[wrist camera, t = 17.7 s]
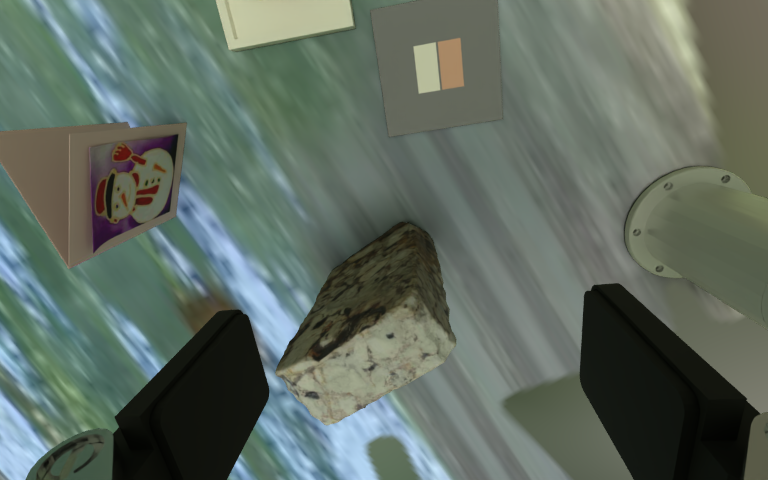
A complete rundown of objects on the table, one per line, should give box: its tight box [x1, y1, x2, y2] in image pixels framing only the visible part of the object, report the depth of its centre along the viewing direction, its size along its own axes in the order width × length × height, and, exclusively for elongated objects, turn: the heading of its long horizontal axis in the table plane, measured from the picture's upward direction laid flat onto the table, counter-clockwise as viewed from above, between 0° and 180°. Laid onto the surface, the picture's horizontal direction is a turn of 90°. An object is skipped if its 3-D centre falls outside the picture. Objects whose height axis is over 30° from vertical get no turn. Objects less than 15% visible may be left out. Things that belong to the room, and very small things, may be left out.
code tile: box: [370, 0, 503, 137], centre depth 37 cm, size 12×12×1 cm
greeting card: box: [0, 122, 187, 269], centre depth 36 cm, size 11×7×15 cm, turn 162°
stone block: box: [275, 222, 456, 425], centre depth 36 cm, size 13×7×20 cm, turn 131°
